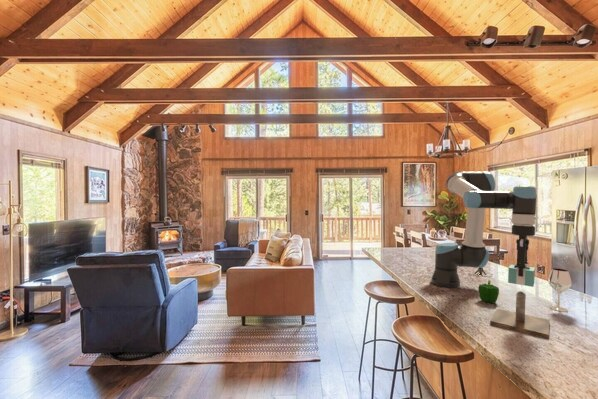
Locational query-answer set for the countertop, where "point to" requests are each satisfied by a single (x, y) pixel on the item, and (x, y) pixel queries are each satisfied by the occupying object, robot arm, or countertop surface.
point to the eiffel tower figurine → (480, 272)
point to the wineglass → (559, 284)
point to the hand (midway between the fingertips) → (521, 282)
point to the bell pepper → (488, 292)
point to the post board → (521, 326)
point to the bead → (528, 275)
